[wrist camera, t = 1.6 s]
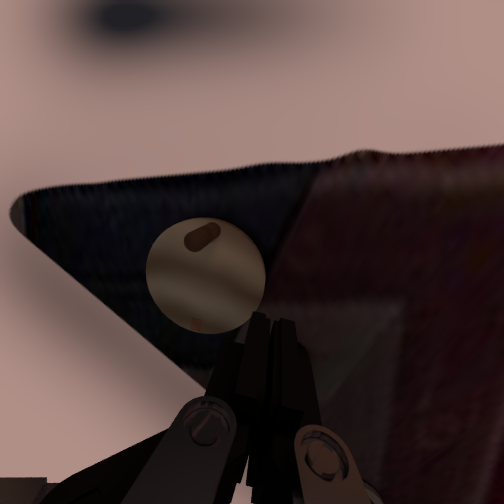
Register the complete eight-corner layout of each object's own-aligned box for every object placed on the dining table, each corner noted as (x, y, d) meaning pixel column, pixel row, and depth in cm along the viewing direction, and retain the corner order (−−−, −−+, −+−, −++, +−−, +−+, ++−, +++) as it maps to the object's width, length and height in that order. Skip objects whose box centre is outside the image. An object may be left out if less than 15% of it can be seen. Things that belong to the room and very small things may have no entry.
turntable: (251, 338, 31) (242, 384, 24) (147, 311, 32) (108, 347, 25) (278, 233, 27) (277, 249, 20) (159, 205, 28) (117, 210, 21)
